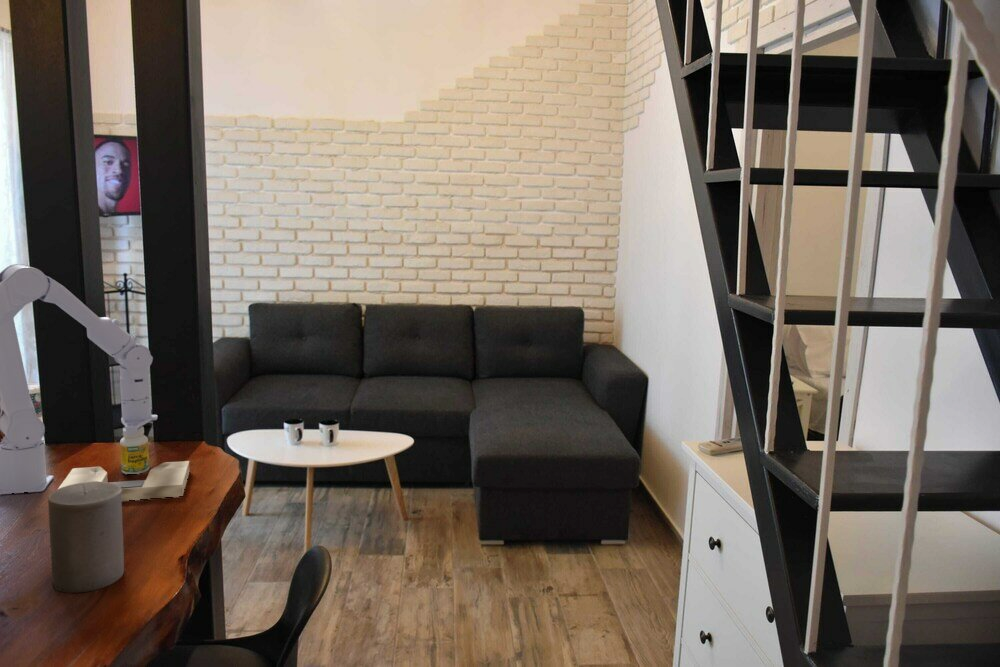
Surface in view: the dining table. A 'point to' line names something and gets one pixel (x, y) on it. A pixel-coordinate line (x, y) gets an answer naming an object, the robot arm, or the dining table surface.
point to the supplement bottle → (134, 452)
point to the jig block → (140, 481)
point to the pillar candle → (86, 536)
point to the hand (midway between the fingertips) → (139, 457)
